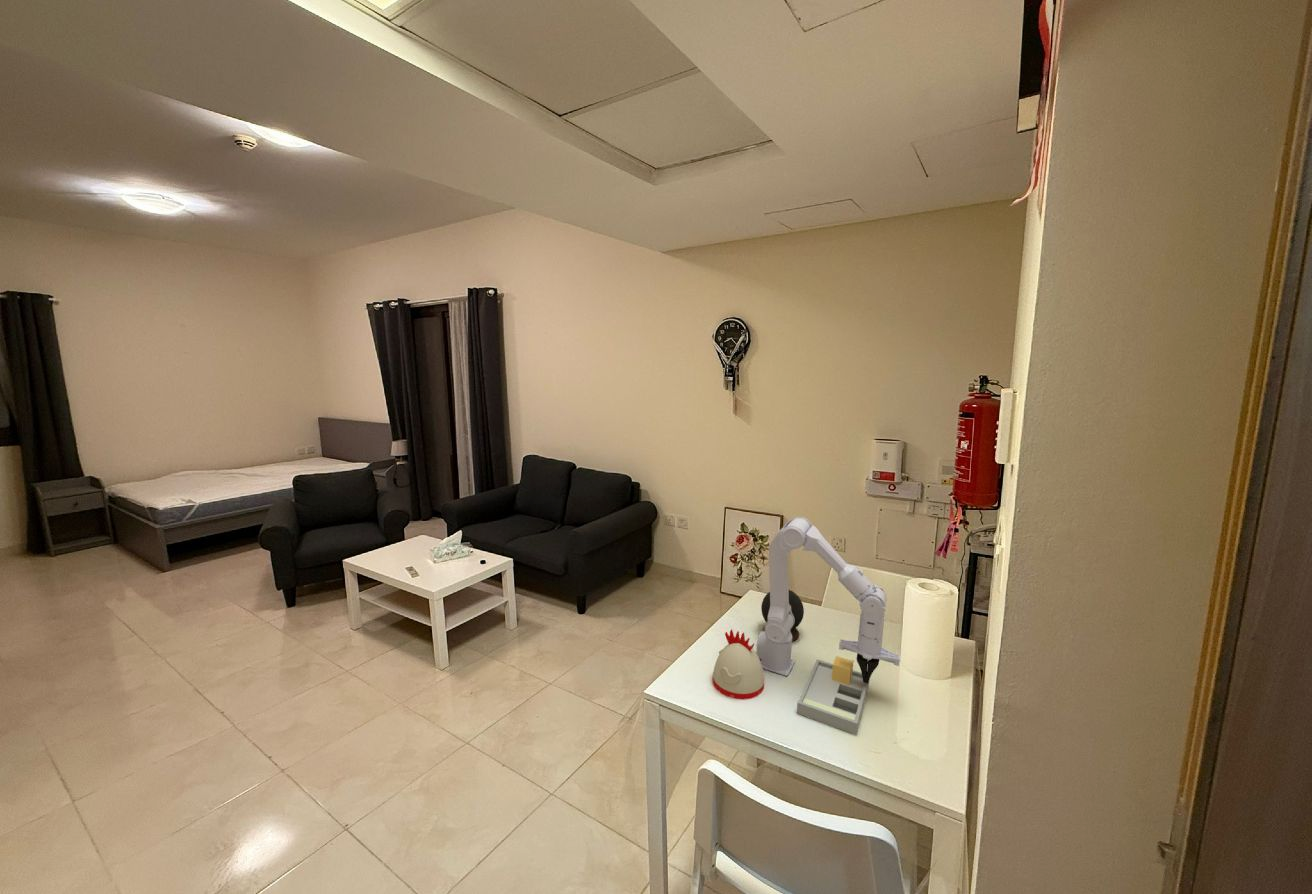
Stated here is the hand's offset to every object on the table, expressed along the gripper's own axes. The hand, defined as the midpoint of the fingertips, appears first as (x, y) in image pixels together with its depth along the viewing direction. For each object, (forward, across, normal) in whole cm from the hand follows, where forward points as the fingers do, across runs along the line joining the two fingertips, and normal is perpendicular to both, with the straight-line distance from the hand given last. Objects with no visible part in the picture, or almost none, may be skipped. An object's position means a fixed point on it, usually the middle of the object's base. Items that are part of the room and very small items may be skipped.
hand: (866, 680), depth 131 cm
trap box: (+3, -6, -7) cm, 10 cm away
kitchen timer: (+4, -30, -14) cm, 34 cm away
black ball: (+4, -28, +16) cm, 32 cm away
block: (+1, -6, 0) cm, 6 cm away
